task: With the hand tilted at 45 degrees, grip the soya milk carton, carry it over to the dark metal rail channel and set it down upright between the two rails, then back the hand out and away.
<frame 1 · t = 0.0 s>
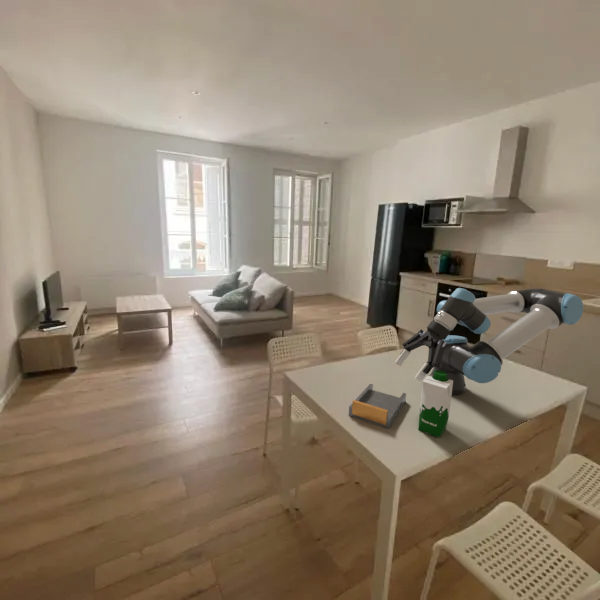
hand: (406, 371, 119), 15 cm above the table, tool tilted 35°, fingers open, 13 cm apart
rail channel: (378, 408, 122), on the table
soya milk: (431, 429, 110), on the table
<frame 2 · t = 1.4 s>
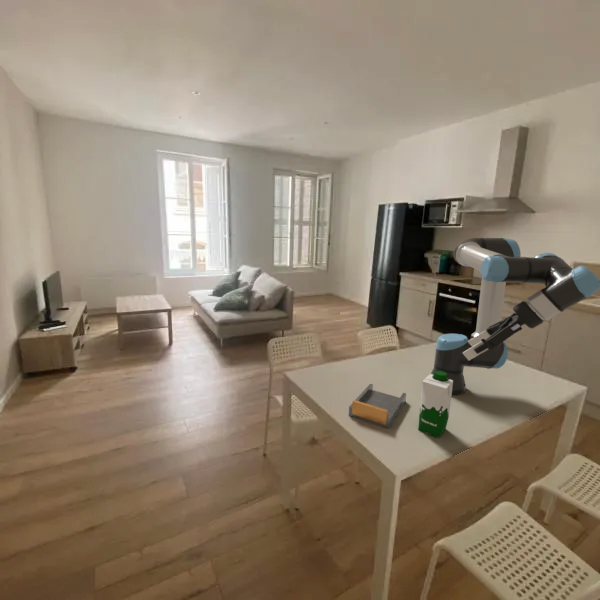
hand: (468, 350, 101), 30 cm above the table, tool tilted 45°, fingers open, 13 cm apart
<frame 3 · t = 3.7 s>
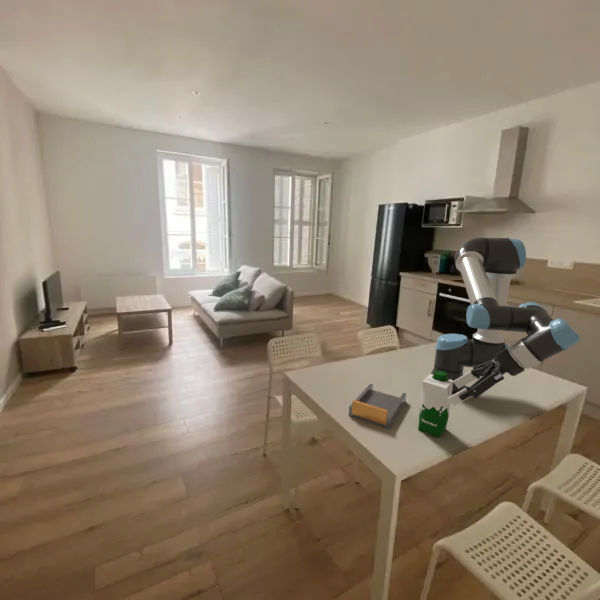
hand: (453, 392, 103), 16 cm above the table, tool tilted 45°, fingers open, 13 cm apart
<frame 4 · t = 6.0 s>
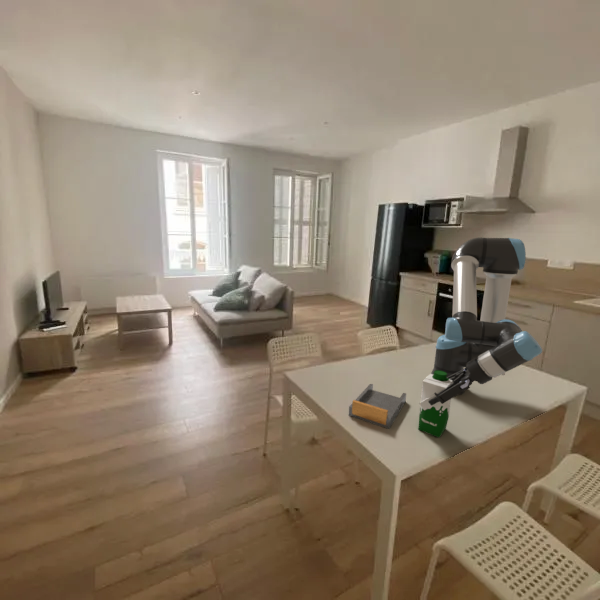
hand: (424, 400, 110), 10 cm above the table, tool tilted 45°, fingers closed on soya milk, 9 cm apart
soya milk: (431, 429, 110), on the table, touching gripper
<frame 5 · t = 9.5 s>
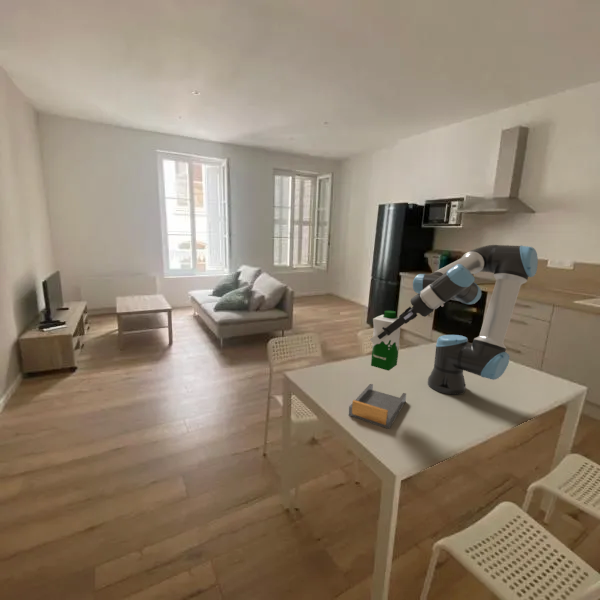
hand: (376, 338, 118), 28 cm above the table, tool tilted 45°, fingers closed on soya milk, 9 cm apart
soya milk: (383, 365, 118), point 18 cm above the table, touching gripper
when the fingers open (13 cm above the table, at t = 13.3 s): soya milk drops 2 cm, resting on rail channel.
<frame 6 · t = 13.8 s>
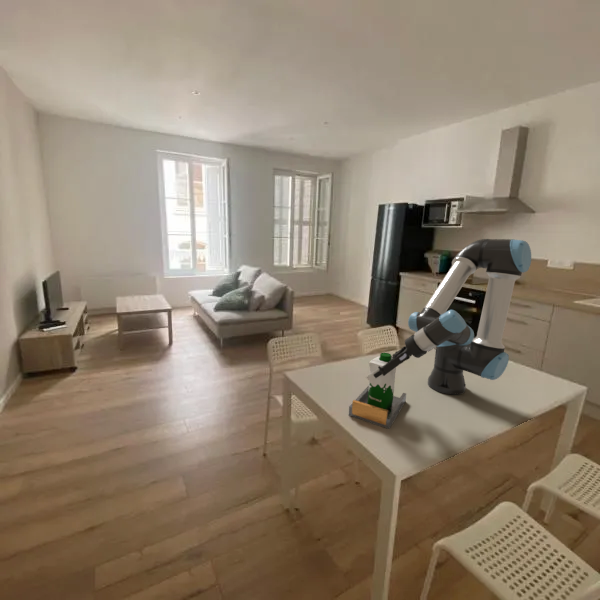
hand: (374, 373, 121), 14 cm above the table, tool tilted 45°, fingers open, 13 cm apart
soya milk: (379, 406, 122), point 1 cm above the table, touching rail channel
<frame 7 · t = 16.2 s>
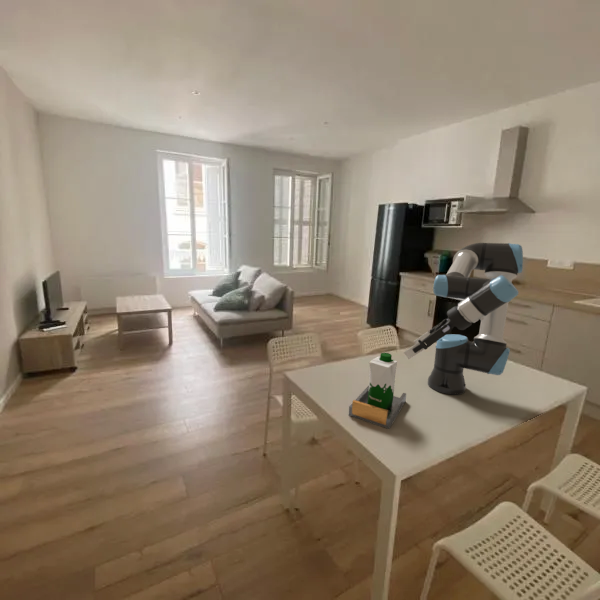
hand: (411, 349, 112), 26 cm above the table, tool tilted 45°, fingers open, 13 cm apart
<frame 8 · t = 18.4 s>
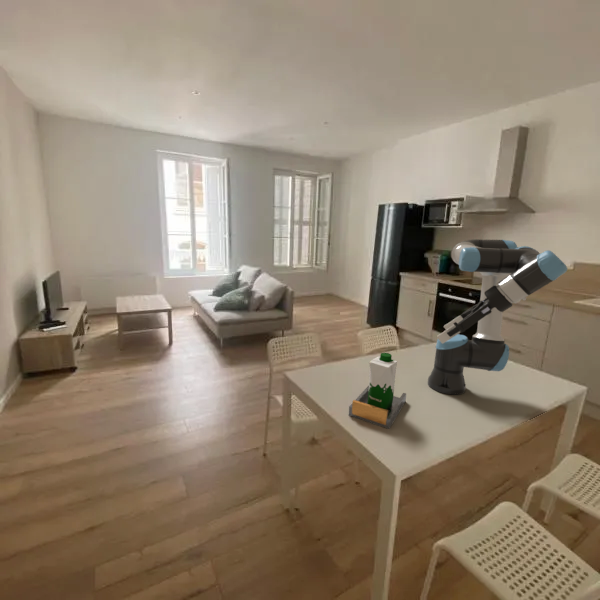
hand: (442, 334, 104), 34 cm above the table, tool tilted 45°, fingers open, 13 cm apart
at the end: soya milk inside the target area on the rail channel (0.4 cm from its centre), point 0.8 cm above the rail channel's base; soya milk tilted 0°; the gripper is holding nothing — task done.
